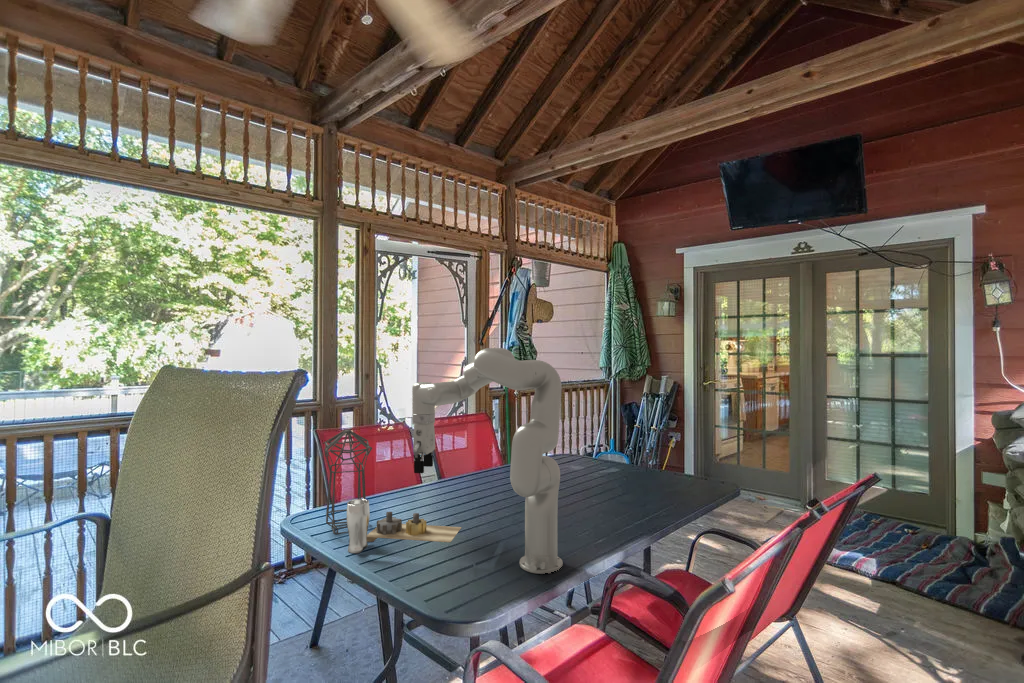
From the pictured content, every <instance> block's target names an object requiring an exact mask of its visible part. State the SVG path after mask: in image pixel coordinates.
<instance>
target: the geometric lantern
mask: <svg viewBox="0 0 1024 683" xmlns="http://www.w3.org/2000/svg"><path fill="white" fill-rule="evenodd" d="M344 436H345V438H344V440H343V442H341V439H342V438H343V437H344ZM352 437H354V439H356V440H355V441H353V438H352ZM347 438H348V441H347ZM356 443H358V444H357V445H355V446H354V447H353V445H354V444H356ZM322 444H324V446H325V447H324V449H323V450H324V457H325V458H326V462H327V465H328V470H329V477H328V479H329V480H328V491H327V501H326V502H327V503H326V512H325V523H326V525H328V526H329V527H330V528H331V529H332V534H334V535H340V534H341V535H342V534H349V532H348V531H342V532H341V531H340V532H339V529H344V528H345V529H346V528H347V529H348V527H347V517H346V518H340V519H335V513H338V512H339V513H340V512H347V508H346V509H337V510H336V509H335V503H336V502H335V500H336V498H335V496H336V494H335V493H336V478H337V477H336V475H337V474H338V473H339V474H342V473H356V472H357V473H358V475H357V477H358V478H357V499H366V476H365V474H366V473H365V471H366V470H365V468H366V465H367V460H368V456H369V455H370V453H371V451H372V450H373V447H372V446H371V445H370V444H369V440H368V439H366V438H365V437H364V436H361V435H359V434H357V433H355V432H354V431H352V430H351V429H344V430H342V431H340V432H338V433H337V434H336V435H333V436H332V437H330V438H329V439H327V440H325V441H323V442H322ZM337 444H339V445H342V447H340V446H338V445H337ZM346 444H348V445H349V449H345V445H346ZM360 445H362V446H363V447H365V448H362V449H356V448H358V447H359V446H360ZM334 447H336V448H337V449H333V448H334ZM355 449H356V450H355ZM336 452H337V453H336ZM356 452H359V453H357V454H356ZM329 453H332V454H333V455H334V456H336V457H337V458H336V460H335V462H334V463H333V460H332V457H331V454H329ZM338 453H339V454H338ZM352 453H353V455H354V456H352ZM343 454H349V456H350V457H348V458H344V457H343ZM362 454H364V455H363V458H362V460H361V461H360V459H359V456H361V455H362ZM328 457H329V458H328ZM355 458H356V459H357V460H358V462H355V460H354V459H355ZM329 459H330V460H329ZM339 459H340V460H341V462H340V463H337V462H338V461H339ZM348 460H349V461H350V460H351V461H352V462H350V463H348V462H347V463H346V462H345V463H343V462H344V461H348ZM330 462H331V465H330ZM357 464H358V465H357ZM342 465H344V466H345V465H354V466H355V468H356V469H357V470H347V471H338V469H339V468H340V467H341V466H342ZM333 467H334V471H333ZM332 477H333V482H332ZM361 481H362V482H361ZM332 483H333V484H332ZM361 483H362V484H361ZM361 486H362V487H361ZM331 489H332V498H331ZM361 490H362V492H361ZM366 500H367V499H366ZM330 501H331V510H330ZM329 510H330V511H329ZM329 514H331V516H332V518H331V516H330V515H329ZM329 519H330V521H331V522H330V521H329Z"/></svg>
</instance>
